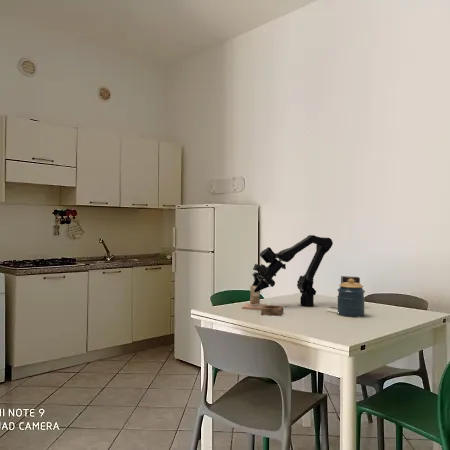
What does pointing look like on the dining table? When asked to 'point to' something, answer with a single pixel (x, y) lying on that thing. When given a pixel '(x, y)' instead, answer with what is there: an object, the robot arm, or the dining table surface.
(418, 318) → the dining table surface
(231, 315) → the dining table surface
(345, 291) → the canister
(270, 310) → the walnut pocket block
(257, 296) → the birch peg
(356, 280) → the coffee box
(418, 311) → the dining table surface
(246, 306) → the terracotta tile
